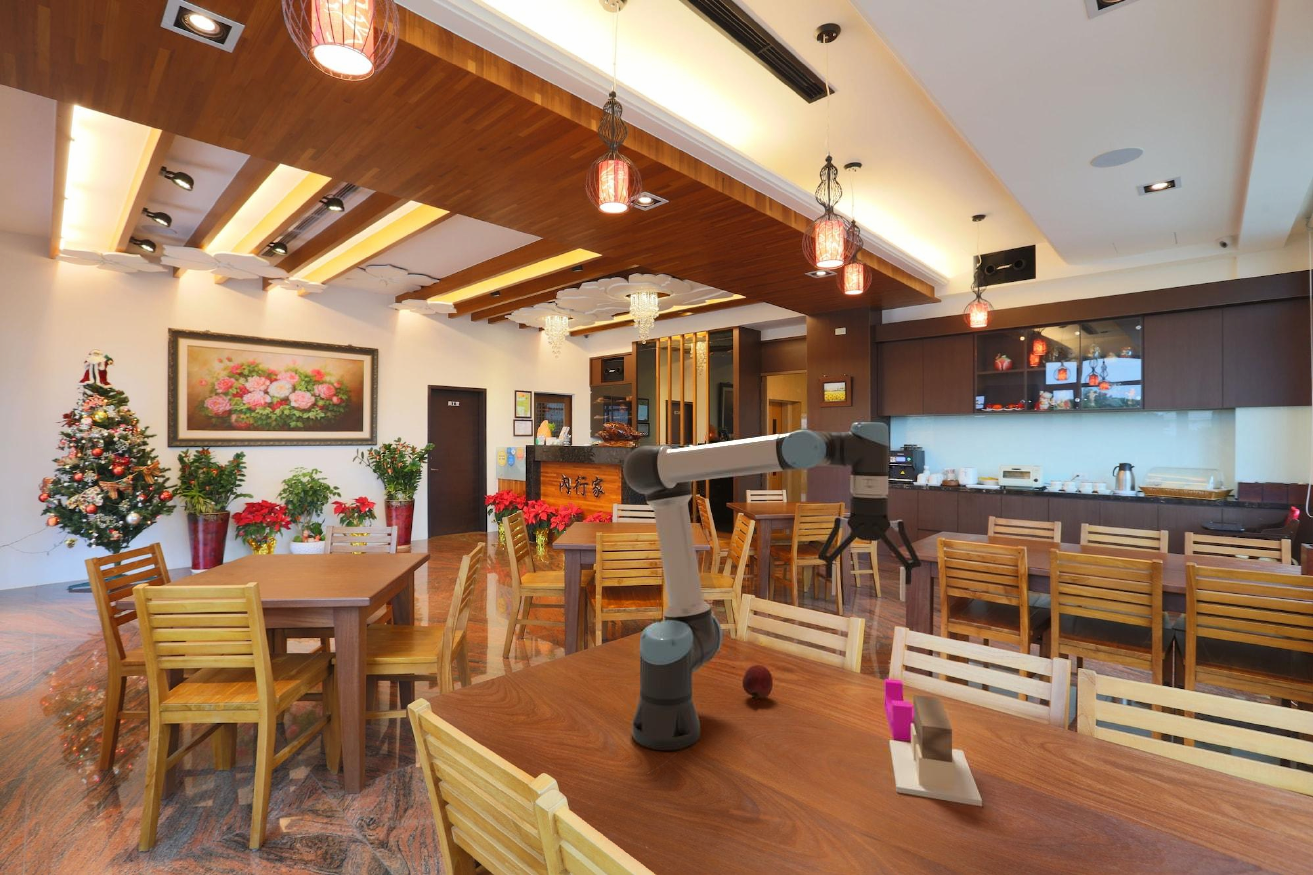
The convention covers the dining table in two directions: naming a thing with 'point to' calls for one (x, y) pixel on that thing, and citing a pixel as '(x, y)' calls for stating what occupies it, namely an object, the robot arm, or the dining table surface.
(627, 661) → the dining table surface
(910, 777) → the post board
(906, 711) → the toy block
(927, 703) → the lintel block
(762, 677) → the apple
